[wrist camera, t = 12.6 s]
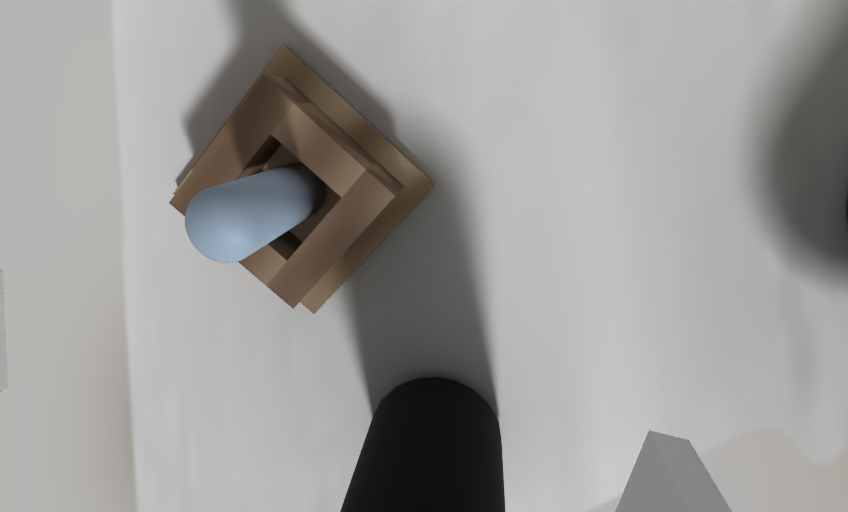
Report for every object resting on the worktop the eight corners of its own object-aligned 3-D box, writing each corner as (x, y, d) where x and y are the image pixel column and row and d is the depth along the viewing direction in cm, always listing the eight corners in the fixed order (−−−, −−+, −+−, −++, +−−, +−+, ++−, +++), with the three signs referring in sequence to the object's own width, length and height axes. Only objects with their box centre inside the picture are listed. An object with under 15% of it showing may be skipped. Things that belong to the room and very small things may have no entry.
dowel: (337, 188, 38) (275, 224, 26) (304, 227, 39) (230, 278, 27) (295, 150, 37) (213, 170, 26) (263, 191, 38) (170, 227, 27)
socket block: (434, 183, 38) (427, 194, 33) (317, 310, 42) (297, 336, 37) (286, 45, 36) (258, 38, 31) (179, 191, 40) (140, 203, 35)
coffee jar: (398, 489, 46) (349, 722, 29) (356, 386, 43) (273, 575, 26) (516, 465, 44) (537, 699, 27) (478, 355, 41) (476, 537, 24)
